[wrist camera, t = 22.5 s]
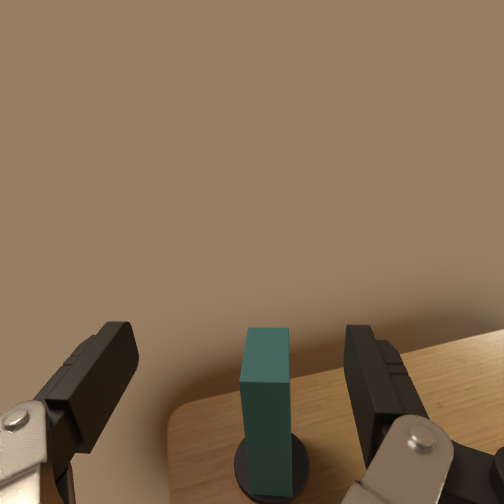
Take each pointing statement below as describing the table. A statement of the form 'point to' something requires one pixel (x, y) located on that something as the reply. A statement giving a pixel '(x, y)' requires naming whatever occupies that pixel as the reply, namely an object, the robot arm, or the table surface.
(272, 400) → the block
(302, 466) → the coaster
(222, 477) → the table surface
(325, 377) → the table surface
